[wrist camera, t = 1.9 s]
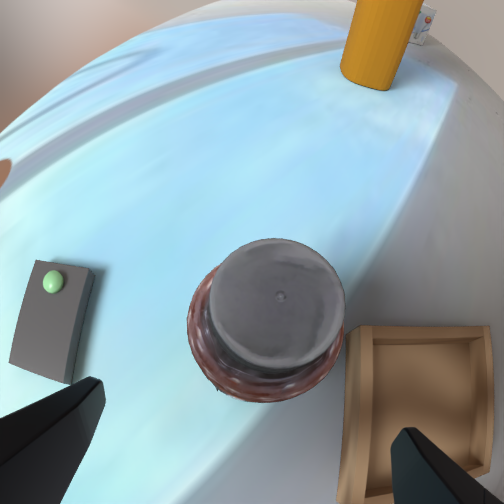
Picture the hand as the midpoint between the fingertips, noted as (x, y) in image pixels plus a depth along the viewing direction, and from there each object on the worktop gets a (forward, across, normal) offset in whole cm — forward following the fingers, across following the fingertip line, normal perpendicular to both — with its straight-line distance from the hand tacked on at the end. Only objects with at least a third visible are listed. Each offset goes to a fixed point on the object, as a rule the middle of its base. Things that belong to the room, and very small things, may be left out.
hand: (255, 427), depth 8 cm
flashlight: (+37, -10, -22) cm, 44 cm away
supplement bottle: (+10, 0, +5) cm, 11 cm away
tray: (+8, -12, +7) cm, 16 cm away
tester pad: (+9, +14, +6) cm, 18 cm away
